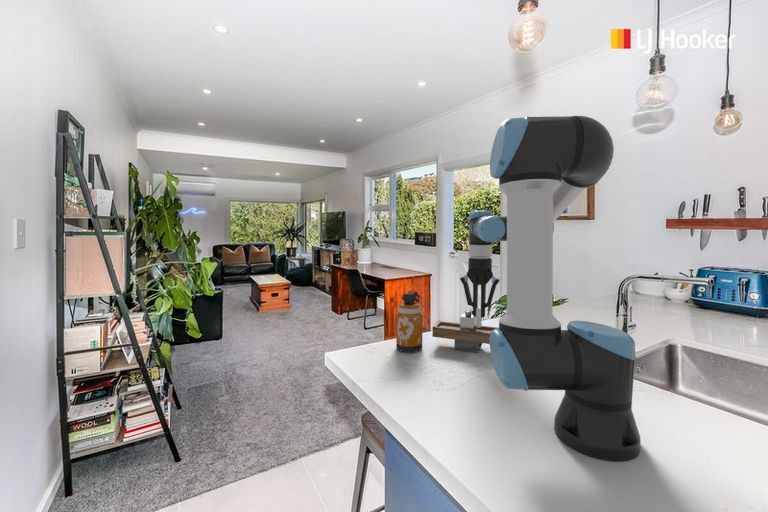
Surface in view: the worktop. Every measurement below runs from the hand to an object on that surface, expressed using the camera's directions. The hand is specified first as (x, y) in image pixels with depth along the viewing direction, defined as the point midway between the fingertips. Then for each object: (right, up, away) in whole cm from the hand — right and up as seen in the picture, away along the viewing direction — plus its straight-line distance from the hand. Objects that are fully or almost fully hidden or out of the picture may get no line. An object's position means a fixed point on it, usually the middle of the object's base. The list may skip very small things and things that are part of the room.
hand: (478, 326), depth 122 cm
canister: (-23, -8, +3) cm, 25 cm away
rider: (-3, -2, +2) cm, 4 cm away
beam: (-3, -8, +2) cm, 9 cm away
